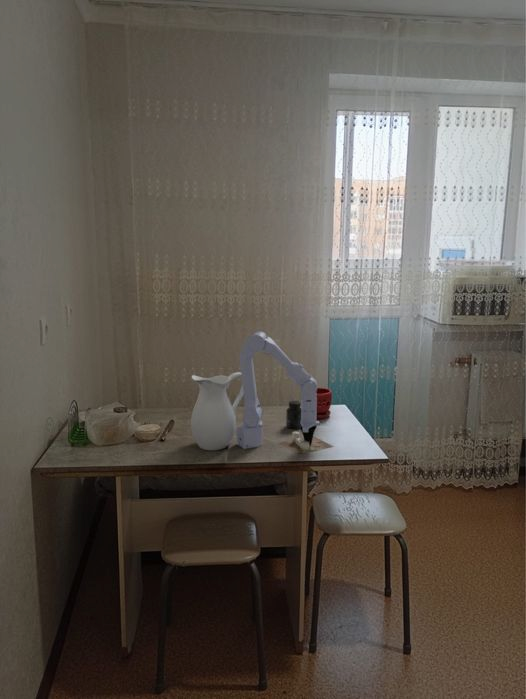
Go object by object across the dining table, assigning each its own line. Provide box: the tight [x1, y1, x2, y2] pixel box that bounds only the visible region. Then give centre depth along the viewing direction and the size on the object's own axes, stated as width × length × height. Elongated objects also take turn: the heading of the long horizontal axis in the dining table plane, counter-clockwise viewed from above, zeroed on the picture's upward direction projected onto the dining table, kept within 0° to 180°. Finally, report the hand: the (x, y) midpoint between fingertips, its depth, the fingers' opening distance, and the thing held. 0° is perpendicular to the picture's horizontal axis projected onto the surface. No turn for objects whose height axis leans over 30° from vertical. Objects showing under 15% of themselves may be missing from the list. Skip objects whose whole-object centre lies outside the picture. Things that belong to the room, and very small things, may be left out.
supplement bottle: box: [285, 400, 302, 430], centre depth 221 cm, size 7×7×12 cm
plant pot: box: [316, 387, 333, 419], centre depth 241 cm, size 13×13×12 cm
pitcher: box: [190, 371, 244, 451], centre depth 203 cm, size 24×17×28 cm
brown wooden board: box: [279, 435, 334, 455], centre depth 201 cm, size 16×14×1 cm
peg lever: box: [291, 431, 309, 451], centre depth 199 cm, size 12×3×3 cm, turn 18°
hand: (308, 444), depth 199 cm, fingers closed
